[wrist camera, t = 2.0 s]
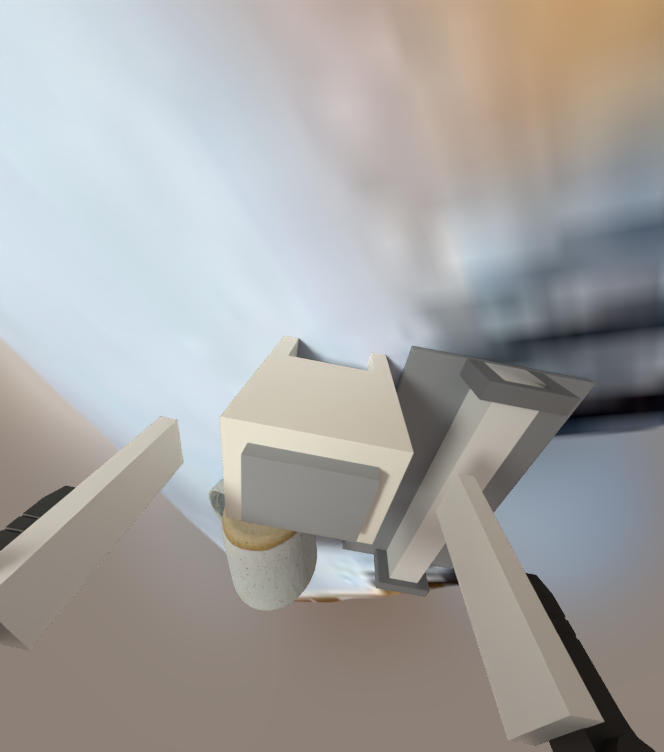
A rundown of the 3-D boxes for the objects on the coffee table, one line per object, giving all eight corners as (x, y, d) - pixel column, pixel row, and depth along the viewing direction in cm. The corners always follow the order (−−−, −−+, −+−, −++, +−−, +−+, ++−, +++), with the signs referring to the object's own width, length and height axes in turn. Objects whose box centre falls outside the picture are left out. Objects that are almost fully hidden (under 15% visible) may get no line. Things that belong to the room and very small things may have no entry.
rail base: (412, 345, 16) (425, 368, 13) (589, 379, 16) (644, 410, 13) (342, 543, 27) (341, 581, 24) (447, 563, 28) (459, 603, 24)
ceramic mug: (317, 466, 22) (299, 562, 15) (322, 521, 26) (309, 618, 19) (207, 460, 23) (145, 547, 17) (227, 514, 27) (182, 603, 20)
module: (284, 335, 17) (211, 427, 8) (385, 354, 17) (417, 466, 8) (278, 409, 20) (219, 532, 11) (364, 425, 20) (371, 561, 11)
